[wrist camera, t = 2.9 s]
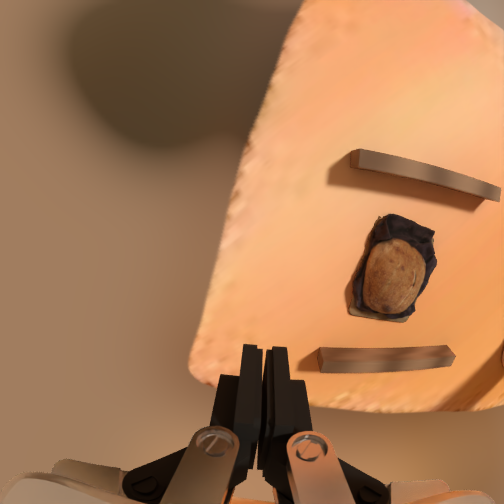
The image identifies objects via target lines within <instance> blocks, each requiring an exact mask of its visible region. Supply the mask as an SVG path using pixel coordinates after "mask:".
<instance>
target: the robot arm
mask: <svg viewBox="0 0 504 504" xmlns="http://www.w3.org/2000/svg"><path fill="white" fill-rule="evenodd" d="M262 356H263V349H257V345H250V344H243V352H242V360H241V369H240V376H233V375H224V374H221V375H220V378H219V383H218V387H217V392H216V397H215V402H214V406H213V411H212V416H211V421H210V426H207V427H204V428H201V429H200V430H198V431H197V432H196V433H195V434H194V435H193V437H192V439H191V441H190V443H189V445H188V447H186V448H184V449H181V450H179V451H177V452H174V453H172V454H170V455H168V456H165V457H163V458H161V459H158V460H156V461H153V462H151V463H148V464H146V465H143V466H141V467H138V468H135V469H133V470H131V471H122V470H121V469H120V468H116V467H108V466H102V465H96V464H91V463H86V462H81V461H76V460H72V459H63V460H59V461H58V462H57V463H56V464H55V465H54V467H53V469H52V473H51V474H50V473H43V472H23V473H20V474H18V475H16V476H15V477H14V478H12V479H11V480H10V481H9V482H8V483H7V484H6V485H5V487H4V488H3V489H2V490H1V492H0V504H230V503H231V500H232V497H233V493H234V490H235V486H236V485H238V484H240V483H241V482H243V481H244V480H246V477H247V472H248V469H253V465H254V459H255V454H256V449H257V443H258V460H257V469H258V470H263V477H265V481H267V482H268V483H269V484H270V485H271V486H273V494H274V500H275V504H495V502H494V501H493V500H492V498H491V497H490V496H488V495H487V494H485V493H484V492H481V491H473V490H460V491H452V492H450V490H449V487H448V485H447V484H446V483H445V482H444V481H442V480H438V479H432V480H422V481H407V482H391V483H390V484H383V483H381V482H380V481H379V480H377V479H375V478H372V477H371V476H369V475H367V474H365V473H363V472H362V471H360V470H358V469H356V468H355V467H353V466H351V465H349V464H348V463H346V462H344V461H343V460H341V459H339V458H337V456H336V453H335V451H334V448H333V446H332V444H331V442H330V441H329V439H328V438H327V437H326V436H324V435H322V434H320V433H318V432H313V430H312V423H311V417H310V410H309V404H308V398H307V391H306V385H305V381H304V380H290V372H289V362H288V353H287V347H276V346H273V347H272V350H267V351H266V359H265V366H264V373H263V380H262ZM502 364H503V366H504V350H503V355H502Z"/></svg>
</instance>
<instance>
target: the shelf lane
mask: <svg viewBox="0 0 504 504" xmlns="http://www.w3.org/2000/svg"><path fill="white" fill-rule="evenodd" d="M350 168H357V169H362V170H368V171H374V172H379V173H384V174H389V175H394V176H399V177H404V178H408V179H413V180H417V181H421V182H426V183H430V184H434V185H438V186H442V187H446V188H449V189H453V190H457V191H460V192H464V193H467V194H471V195H474V196H477V197H481V198H484V199H488V200H492V201H496V202H500V194H501V188H500V187H497V186H494V185H492V184H489V183H486V182H484V181H481V180H478V179H475V178H472V177H469V176H466V175H463V174H460V173H457V172H454V171H450V170H447V169H444V168H440V167H437V166H433V165H429V164H426V163H422V162H418V161H414V160H410V159H406V158H402V157H398V156H393V155H389V154H384V153H380V152H375V151H370V150H364V149H357V150H353V151H351V162H350ZM455 357H456V356H455V354H454V353H453V352H452V351H451V350H450V348H449V347H448V346H447V345H442V346H427V347H406V348H327V347H320V350H319V354H318V358H317V359H318V363H319V368H320V373H376V372H396V371H410V370H421V369H431V368H440V367H448V366H451V365H452V363H453V361H454V359H455Z"/></svg>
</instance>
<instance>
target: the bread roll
mask: <svg viewBox="0 0 504 504" xmlns="http://www.w3.org/2000/svg"><path fill="white" fill-rule="evenodd" d="M379 218H381V217H380V216H379V217H378V219H377V220H376V221H375V223H374V227H373V228H372V231H371V234H370V237H369V239H368V243H367V245H366V247H365V251H364V255H363V258H362V262H361V264H360V268H359V270H357V271H356V275H355V280H354V281H353V292H352V300H351V304H350V307H349V313H350V314H351V315H354V316H362V317H367V318H374V319H381V320H388V321H395V322H406V321H407V320H408V318H409V316H410V315H412V313H413V312H415V302H416V300H417V298H418V297H419V296H420V294H421V293H422V292H423V290H424V289H425V287H426V285H427V283H428V280H429V277H430V275H431V273H432V272H433V270H434V268H435V267H436V265H437V259H436V257H435V255H434V254H435V252H434V248H433V242H434V239H433V238H432V237H433V235H434V233H435V231H433V230H431V229H429V228H427V227H423V226H421V225H418V224H417V223H416V222H413V221H412V220H409V219H406V218H404V217H402V216H399V215H395V214H388V216H386V217H384V216H383V219H379Z"/></svg>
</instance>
